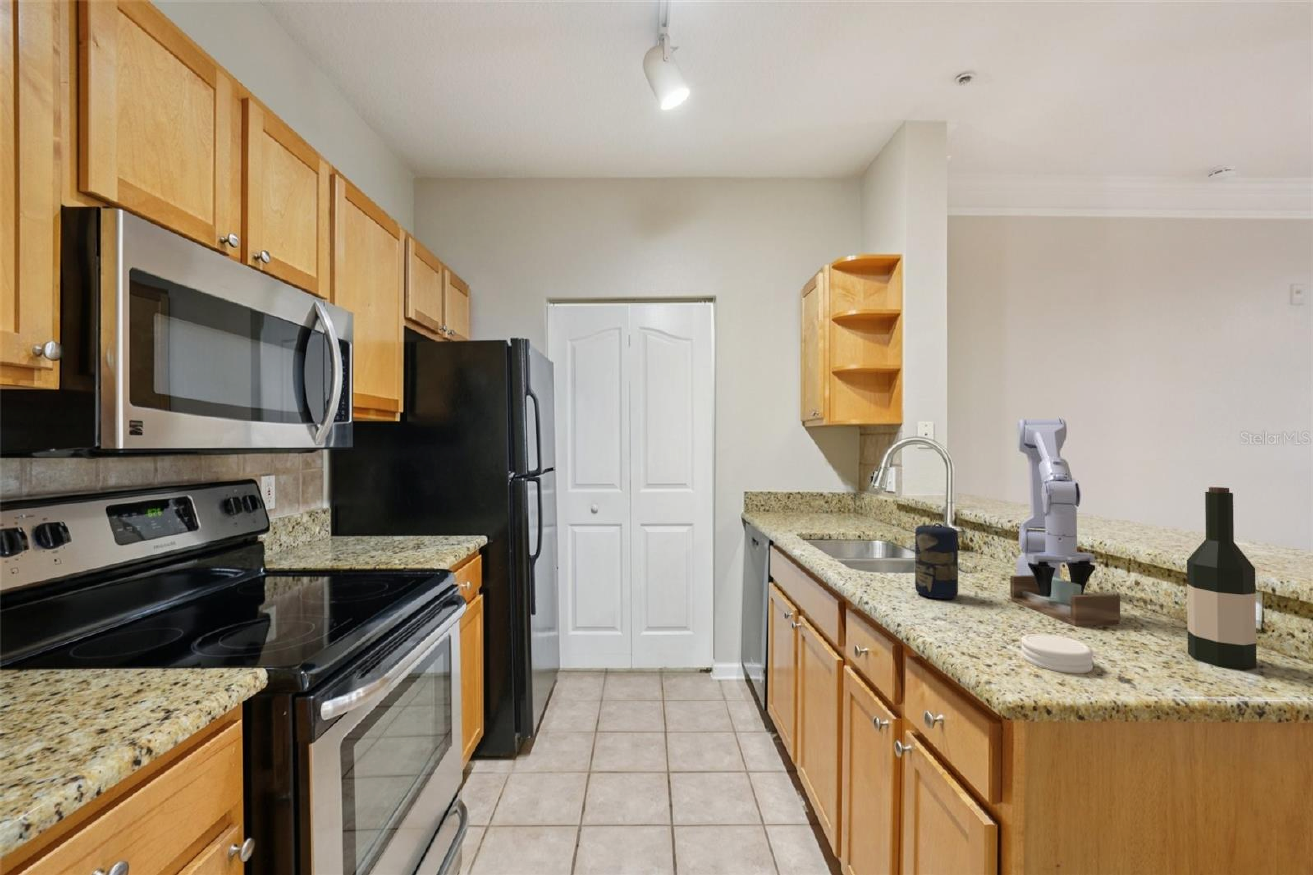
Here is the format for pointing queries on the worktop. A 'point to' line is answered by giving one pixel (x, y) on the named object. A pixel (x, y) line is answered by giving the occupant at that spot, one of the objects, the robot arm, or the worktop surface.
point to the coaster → (1057, 653)
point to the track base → (1080, 612)
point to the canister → (936, 561)
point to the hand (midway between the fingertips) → (1061, 595)
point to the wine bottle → (1221, 592)
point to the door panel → (1063, 591)
